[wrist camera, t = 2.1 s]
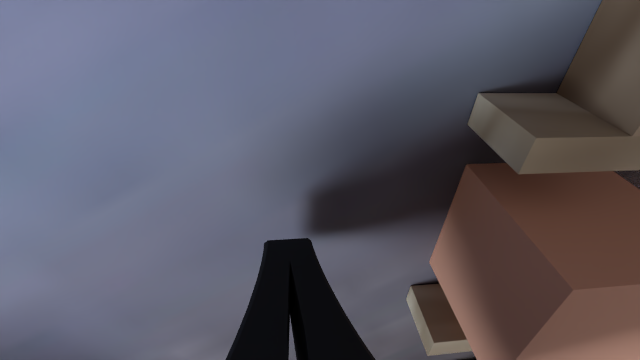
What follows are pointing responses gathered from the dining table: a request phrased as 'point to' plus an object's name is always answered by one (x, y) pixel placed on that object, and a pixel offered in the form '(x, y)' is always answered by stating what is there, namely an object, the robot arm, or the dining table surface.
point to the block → (543, 264)
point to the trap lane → (556, 136)
